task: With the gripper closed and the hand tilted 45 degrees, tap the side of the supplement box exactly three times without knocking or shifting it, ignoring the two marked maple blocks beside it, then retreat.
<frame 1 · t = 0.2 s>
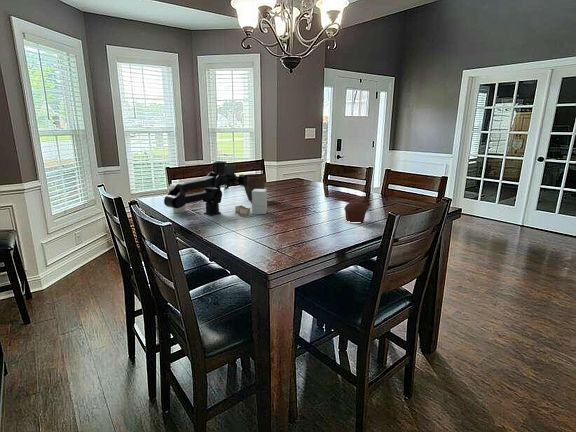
hand: (243, 177, 199), 17 cm above the table, tool horizontal, fingers open, 9 cm apart
plant pot: (254, 200, 217), on the table
coffee cup: (179, 211, 187), on the table
marked block b: (240, 213, 184), on the table
muffin: (354, 221, 172), on the table
marked block a: (245, 215, 180), on the table
supplement box: (259, 212, 187), on the table
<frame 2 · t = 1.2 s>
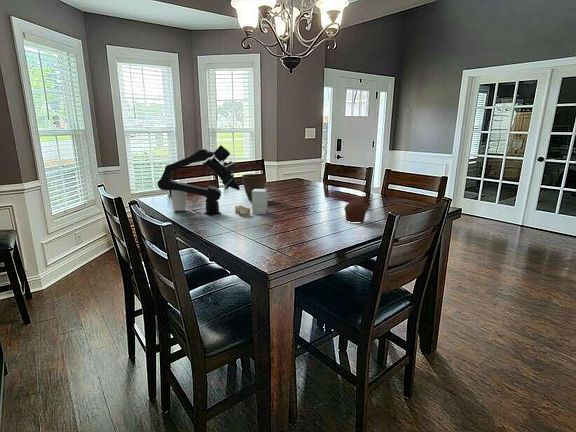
hand: (239, 188, 182), 14 cm above the table, tool tilted 45°, fingers open, 8 cm apart
coffee cup: (179, 210, 187), on the table, touching arm
everything else where it was.
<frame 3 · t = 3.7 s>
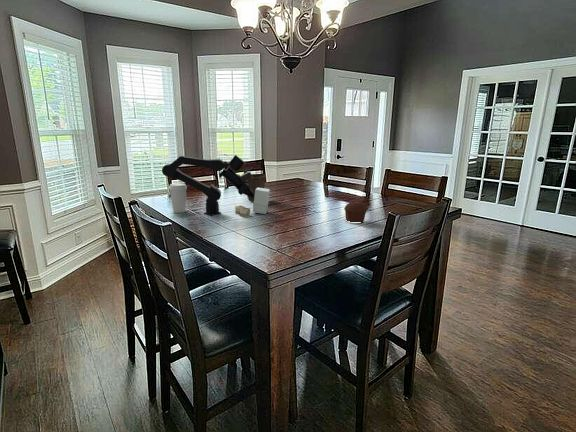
hand: (254, 196, 184), 9 cm above the table, tool tilted 45°, fingers closed
coffee cup: (179, 211, 187), on the table
supplement box: (259, 211, 187), on the table, touching gripper
everything else where it was.
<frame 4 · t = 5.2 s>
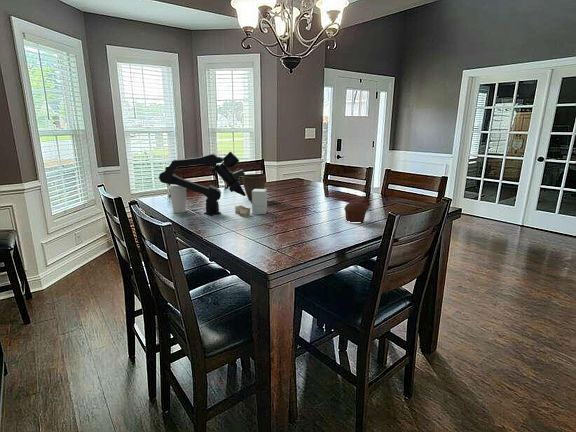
hand: (245, 195, 183), 10 cm above the table, tool tilted 40°, fingers closed
coffee cup: (179, 211, 187), on the table, touching arm
supplement box: (259, 212, 187), on the table
everything else where it was.
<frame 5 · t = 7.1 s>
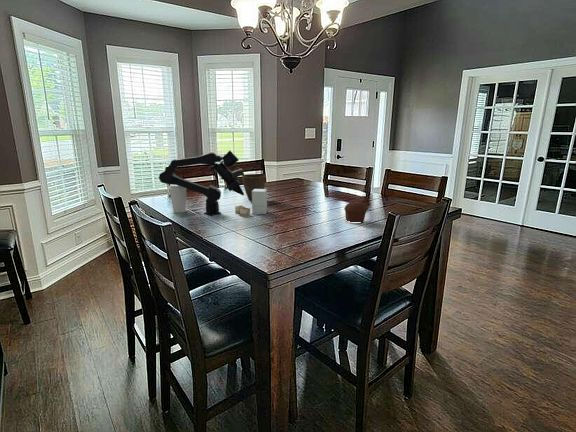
hand: (243, 194, 183), 10 cm above the table, tool tilted 40°, fingers closed
nothing on the table moved.
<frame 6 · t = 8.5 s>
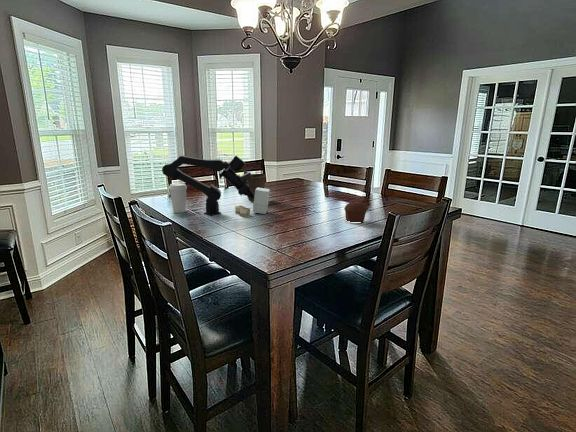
hand: (254, 197, 184), 9 cm above the table, tool tilted 45°, fingers closed
coffee cup: (179, 211, 187), on the table
supplement box: (259, 211, 187), on the table, touching gripper
everything else where it was.
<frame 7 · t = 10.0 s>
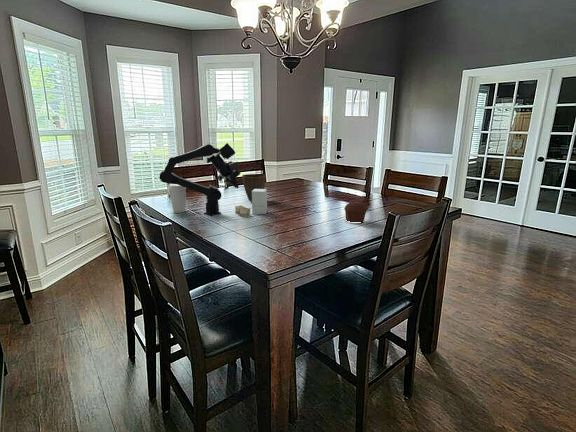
hand: (238, 187, 184), 13 cm above the table, tool tilted 35°, fingers closed
supplement box: (259, 212, 187), on the table
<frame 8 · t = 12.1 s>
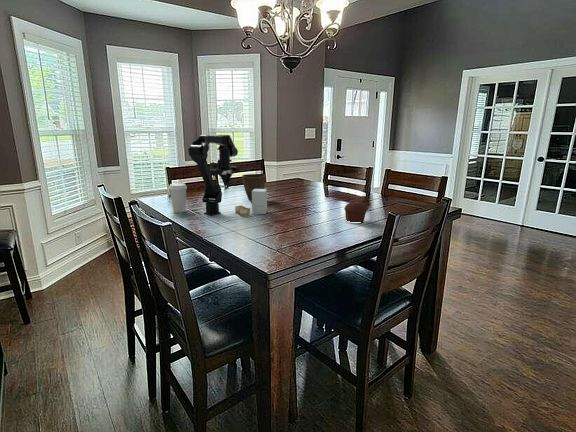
hand: (225, 185, 193), 13 cm above the table, tool pointing down, fingers closed
nothing on the table moved.
at the end: supplement box moved 0.3 cm from its start; supplement box tilted 0°; the gripper is holding nothing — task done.
